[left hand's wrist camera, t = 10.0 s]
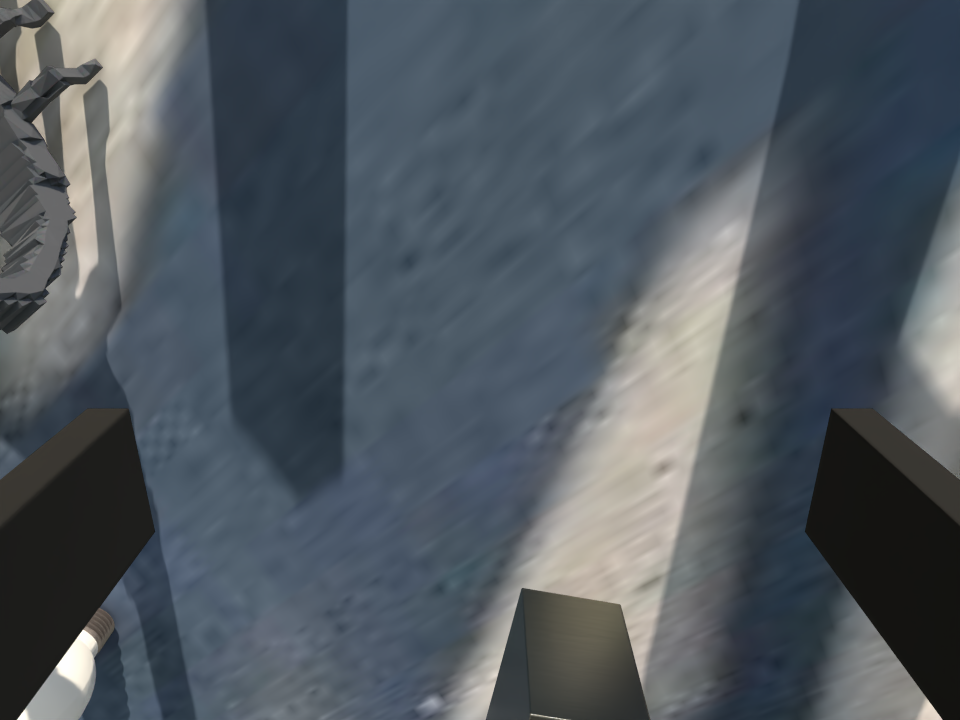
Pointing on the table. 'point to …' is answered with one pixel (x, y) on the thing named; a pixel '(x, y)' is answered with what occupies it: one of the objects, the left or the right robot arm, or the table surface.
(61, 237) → the toy
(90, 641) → the light bulb
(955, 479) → the left robot arm
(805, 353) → the table surface
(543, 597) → the bar
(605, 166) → the table surface
